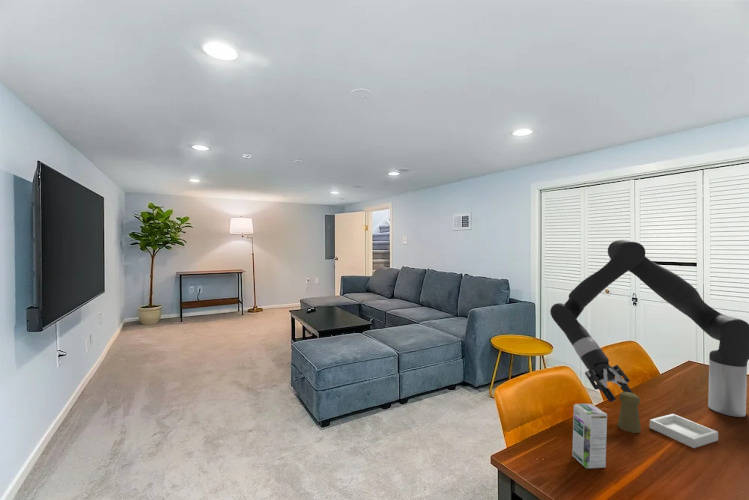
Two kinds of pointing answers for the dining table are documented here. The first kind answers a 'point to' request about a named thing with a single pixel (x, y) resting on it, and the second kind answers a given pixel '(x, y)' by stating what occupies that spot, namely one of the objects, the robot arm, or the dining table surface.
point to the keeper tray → (684, 430)
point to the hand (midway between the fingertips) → (622, 398)
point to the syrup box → (589, 436)
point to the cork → (629, 413)
